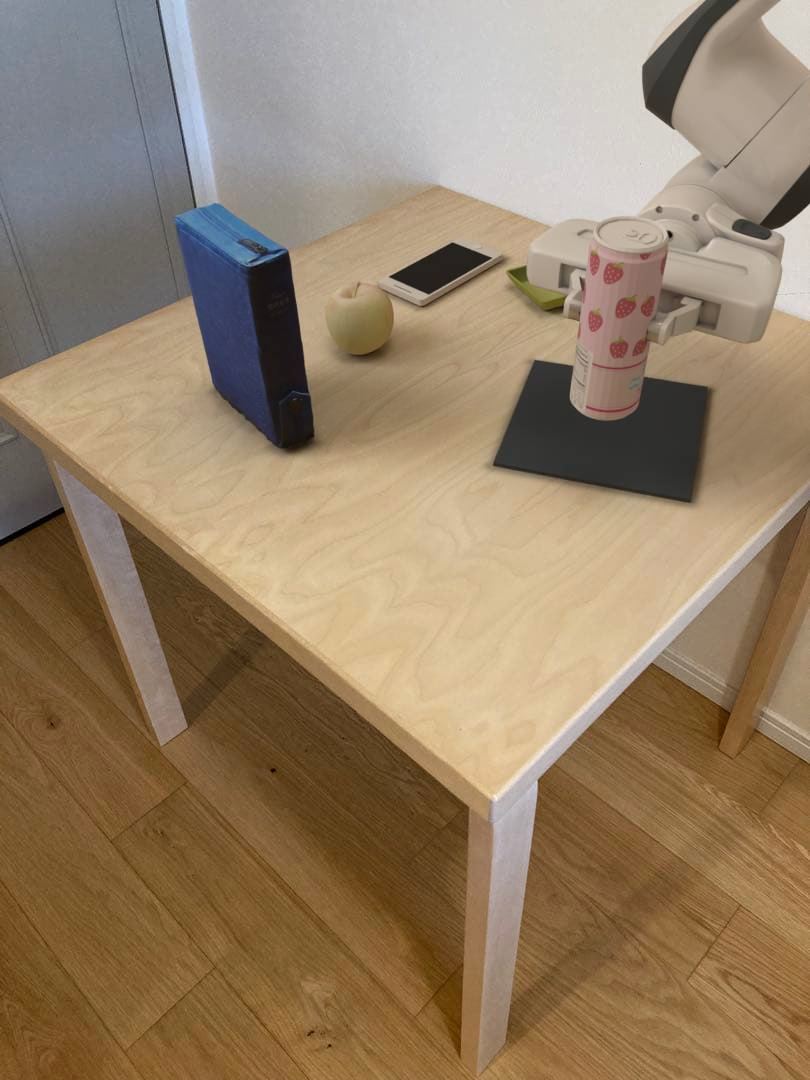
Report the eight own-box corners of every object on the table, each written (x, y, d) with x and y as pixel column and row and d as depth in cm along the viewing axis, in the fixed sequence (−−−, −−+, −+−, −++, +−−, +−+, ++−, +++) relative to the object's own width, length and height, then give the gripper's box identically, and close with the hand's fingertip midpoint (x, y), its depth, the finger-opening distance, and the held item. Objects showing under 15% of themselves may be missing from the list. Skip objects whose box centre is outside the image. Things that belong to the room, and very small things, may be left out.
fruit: (405, 355, 97) (403, 288, 92) (341, 370, 95) (335, 303, 90) (380, 322, 102) (377, 256, 97) (319, 335, 101) (312, 270, 95)
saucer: (503, 285, 108) (503, 269, 106) (564, 269, 110) (566, 253, 109) (540, 319, 102) (542, 302, 101) (604, 301, 104) (607, 285, 103)
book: (325, 440, 87) (303, 246, 73) (278, 462, 85) (247, 266, 71) (250, 375, 95) (218, 190, 81) (206, 393, 93) (165, 206, 79)
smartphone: (504, 259, 112) (504, 251, 112) (421, 307, 104) (421, 299, 104) (460, 242, 116) (461, 235, 115) (377, 287, 108) (377, 280, 107)
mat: (707, 389, 91) (708, 386, 91) (690, 502, 79) (691, 499, 79) (534, 362, 96) (534, 359, 95) (493, 465, 84) (493, 462, 83)
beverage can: (637, 426, 72) (672, 253, 62) (566, 419, 73) (588, 247, 63) (638, 385, 76) (671, 216, 66) (571, 379, 77) (593, 211, 67)
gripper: (568, 187, 79) (495, 253, 70) (806, 240, 71) (754, 321, 63) (561, 254, 83) (491, 323, 75) (784, 311, 75) (733, 395, 67)
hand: (613, 323), depth 69 cm, fingers closed on beverage can, 5 cm apart
